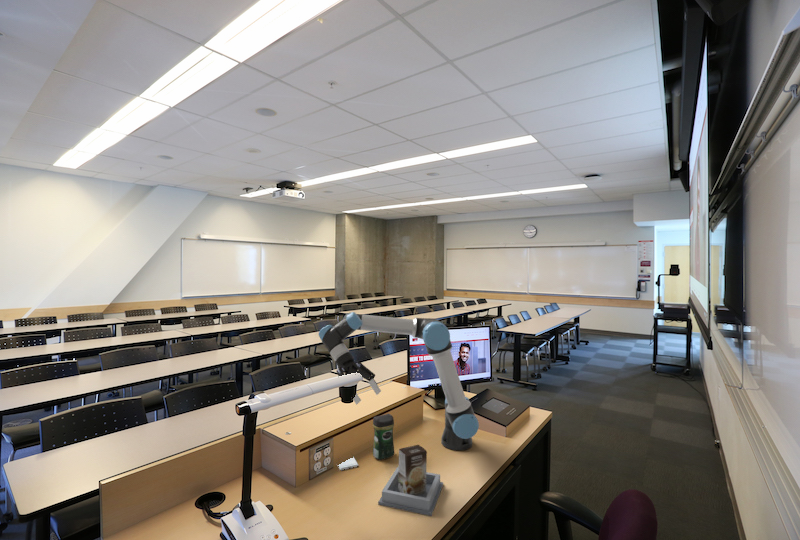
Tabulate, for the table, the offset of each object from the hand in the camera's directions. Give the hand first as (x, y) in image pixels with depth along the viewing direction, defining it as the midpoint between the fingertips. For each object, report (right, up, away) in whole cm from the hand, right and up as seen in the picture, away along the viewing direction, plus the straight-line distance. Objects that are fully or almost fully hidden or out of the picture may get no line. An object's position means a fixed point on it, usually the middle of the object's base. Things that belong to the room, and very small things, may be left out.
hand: (369, 397), depth 157 cm
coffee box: (+17, -32, -12) cm, 39 cm away
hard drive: (-12, -33, +12) cm, 37 cm away
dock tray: (+17, -33, -12) cm, 39 cm away
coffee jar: (+5, -33, +17) cm, 37 cm away
